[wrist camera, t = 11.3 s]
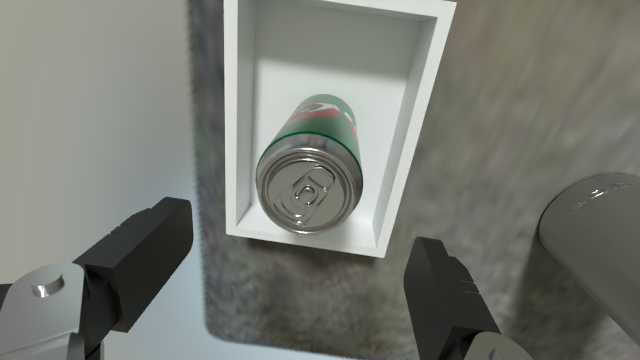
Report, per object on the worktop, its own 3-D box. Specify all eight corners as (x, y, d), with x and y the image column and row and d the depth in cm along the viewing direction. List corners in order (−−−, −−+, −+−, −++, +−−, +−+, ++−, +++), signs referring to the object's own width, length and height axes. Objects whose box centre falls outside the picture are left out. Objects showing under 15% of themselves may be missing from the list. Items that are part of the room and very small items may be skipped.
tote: (434, 10, 20) (456, 2, 16) (378, 226, 28) (383, 257, 24) (247, -17, 20) (223, -31, 16) (243, 206, 28) (226, 234, 24)
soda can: (280, 129, 24) (227, 200, 13) (319, 78, 22) (293, 112, 11) (328, 166, 25) (315, 260, 14) (369, 121, 23) (390, 189, 12)
